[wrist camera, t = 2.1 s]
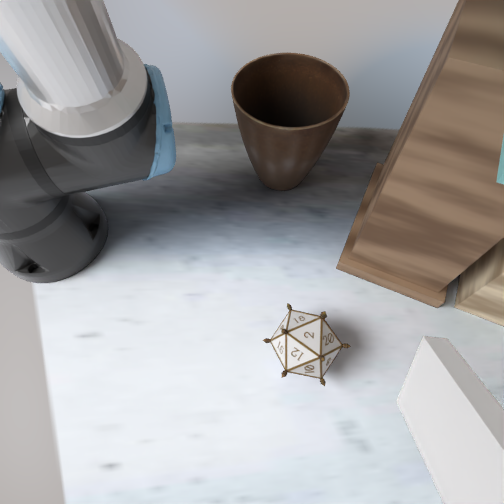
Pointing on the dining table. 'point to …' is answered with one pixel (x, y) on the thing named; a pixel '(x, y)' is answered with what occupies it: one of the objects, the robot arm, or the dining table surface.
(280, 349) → the game die
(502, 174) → the teal long square bar
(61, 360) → the dining table surface
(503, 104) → the walnut stand
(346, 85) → the plant pot
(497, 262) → the zigzag grain block
